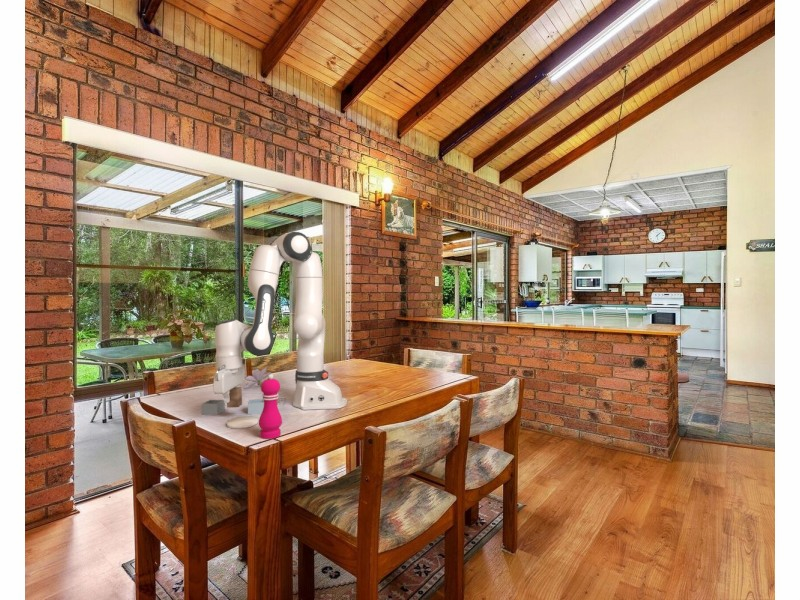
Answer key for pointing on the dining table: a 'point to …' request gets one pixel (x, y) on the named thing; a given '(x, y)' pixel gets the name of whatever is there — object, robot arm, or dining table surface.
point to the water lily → (256, 377)
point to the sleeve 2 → (255, 406)
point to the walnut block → (235, 397)
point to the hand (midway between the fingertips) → (230, 400)
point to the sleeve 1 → (212, 407)
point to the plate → (242, 422)
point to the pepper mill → (270, 409)
